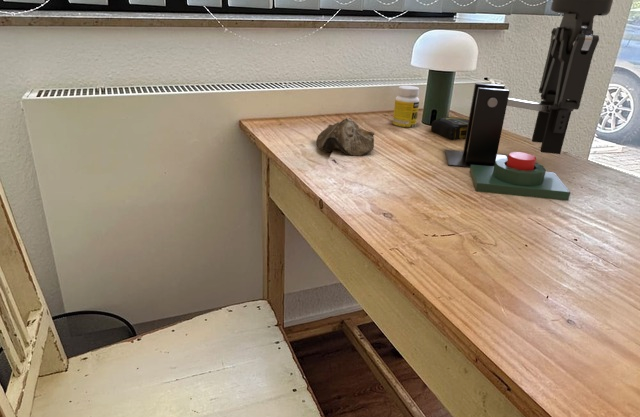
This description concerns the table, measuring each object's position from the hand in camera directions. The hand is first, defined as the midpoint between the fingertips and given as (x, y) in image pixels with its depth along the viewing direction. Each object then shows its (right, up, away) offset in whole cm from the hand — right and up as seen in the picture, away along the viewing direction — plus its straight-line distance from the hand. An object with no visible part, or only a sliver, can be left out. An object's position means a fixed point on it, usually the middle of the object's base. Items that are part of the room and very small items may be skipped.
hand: (545, 146), depth 76 cm
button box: (-7, -7, -7) cm, 12 cm away
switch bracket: (-10, -3, +3) cm, 11 cm away
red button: (-7, -4, -8) cm, 11 cm away
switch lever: (-5, +5, -1) cm, 7 cm away
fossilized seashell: (-31, -1, +6) cm, 32 cm away
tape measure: (-10, +3, +17) cm, 20 cm away
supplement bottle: (-18, +6, +23) cm, 30 cm away
